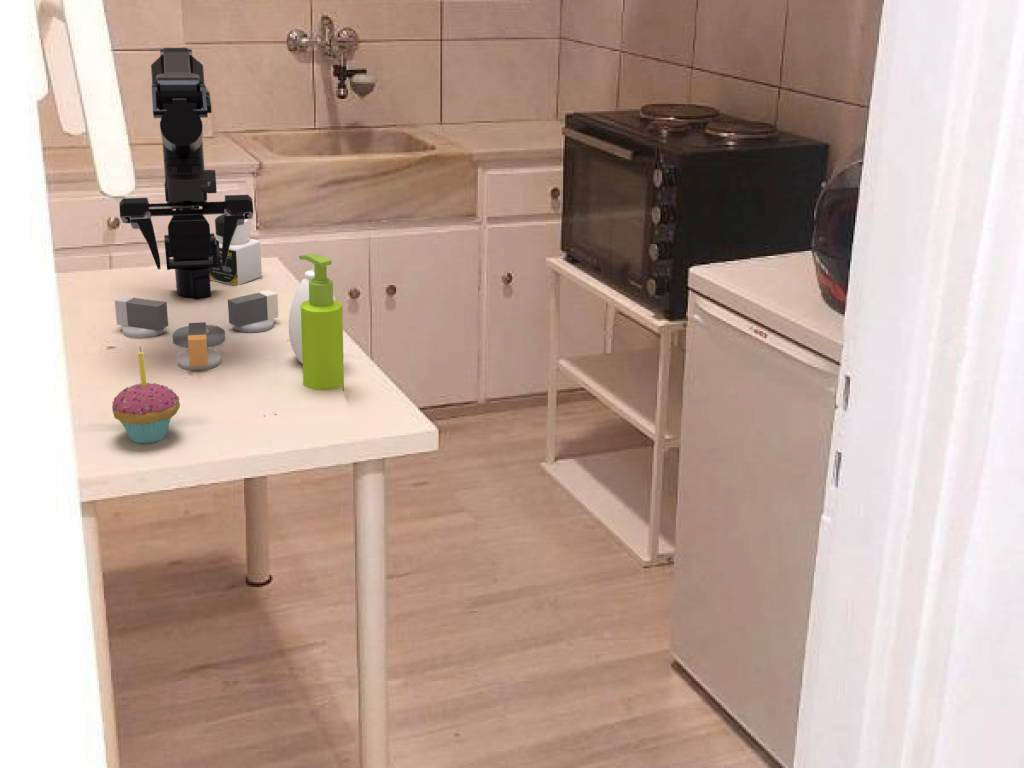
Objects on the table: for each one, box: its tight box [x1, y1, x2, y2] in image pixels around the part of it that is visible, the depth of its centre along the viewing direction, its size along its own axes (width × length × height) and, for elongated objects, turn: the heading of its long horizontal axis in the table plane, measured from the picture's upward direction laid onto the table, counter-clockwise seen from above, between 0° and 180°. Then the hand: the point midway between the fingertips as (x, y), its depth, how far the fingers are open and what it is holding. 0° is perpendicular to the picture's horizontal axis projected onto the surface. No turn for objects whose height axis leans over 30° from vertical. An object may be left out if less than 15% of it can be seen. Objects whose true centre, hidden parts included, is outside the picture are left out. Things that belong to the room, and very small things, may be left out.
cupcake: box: [111, 345, 181, 444], centre depth 154 cm, size 9×8×12 cm
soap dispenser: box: [298, 253, 345, 392], centre depth 169 cm, size 6×7×20 cm
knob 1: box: [176, 321, 222, 371], centre depth 176 cm, size 8×6×5 cm
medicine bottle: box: [209, 214, 263, 287], centre depth 217 cm, size 7×7×12 cm
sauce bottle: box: [288, 262, 336, 364], centre depth 177 cm, size 8×8×18 cm
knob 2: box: [227, 289, 279, 334], centre depth 192 cm, size 8×6×5 cm
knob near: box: [114, 295, 169, 339], centre depth 188 cm, size 8×6×5 cm
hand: (191, 267), depth 173 cm, fingers open, 9 cm apart
